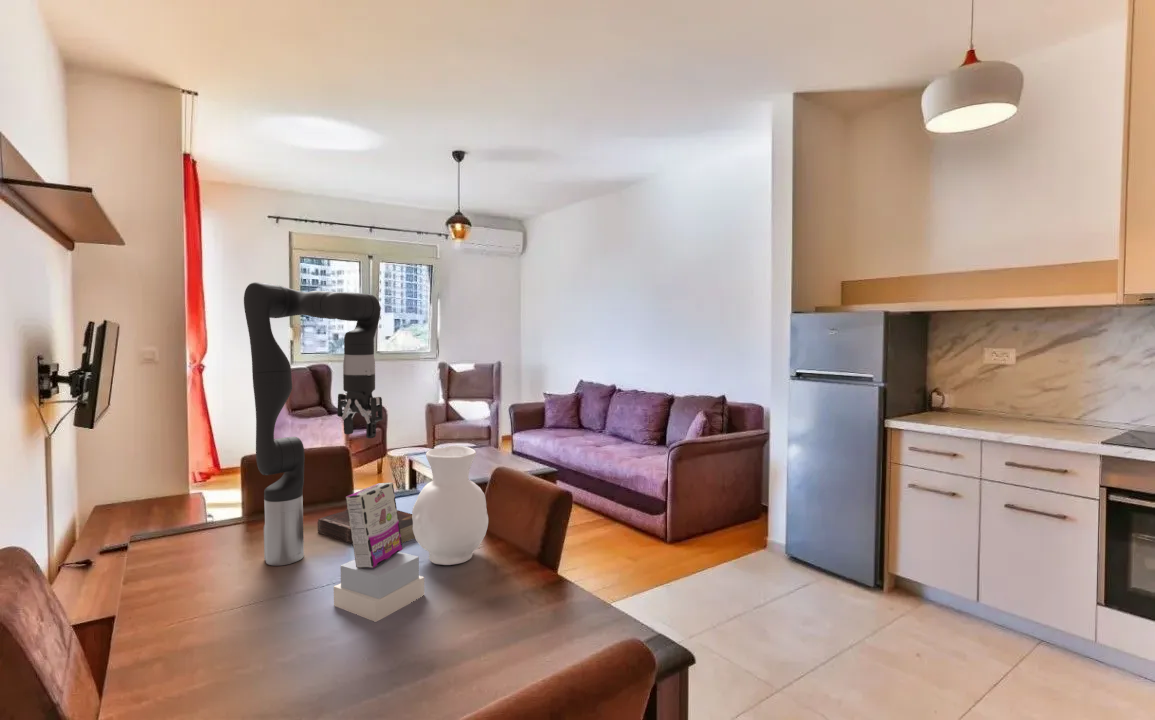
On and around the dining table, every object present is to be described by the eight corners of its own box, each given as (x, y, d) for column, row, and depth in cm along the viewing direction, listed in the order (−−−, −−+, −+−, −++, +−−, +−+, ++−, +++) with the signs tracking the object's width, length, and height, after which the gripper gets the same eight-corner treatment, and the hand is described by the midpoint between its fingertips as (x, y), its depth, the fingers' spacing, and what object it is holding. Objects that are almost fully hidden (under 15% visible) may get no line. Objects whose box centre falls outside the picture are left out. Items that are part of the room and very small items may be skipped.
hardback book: (317, 533, 172) (317, 518, 171) (369, 517, 187) (369, 502, 187) (377, 554, 156) (377, 536, 156) (428, 534, 171) (428, 518, 171)
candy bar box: (385, 550, 134) (377, 482, 133) (403, 549, 132) (394, 481, 132) (354, 568, 123) (344, 495, 123) (372, 568, 121) (363, 494, 121)
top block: (340, 587, 125) (340, 565, 125) (381, 567, 135) (381, 547, 135) (379, 599, 119) (378, 576, 119) (418, 577, 130) (418, 556, 130)
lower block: (333, 607, 125) (333, 586, 125) (383, 584, 138) (383, 564, 137) (375, 624, 118) (375, 601, 118) (424, 597, 130) (424, 577, 130)
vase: (438, 582, 137) (437, 462, 136) (401, 556, 153) (400, 449, 152) (501, 562, 149) (501, 452, 148) (461, 540, 166) (461, 440, 164)
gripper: (328, 371, 140) (328, 435, 141) (365, 375, 133) (366, 441, 134) (353, 370, 147) (353, 430, 148) (390, 373, 139) (390, 436, 140)
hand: (359, 435), depth 141 cm, fingers open, 8 cm apart
